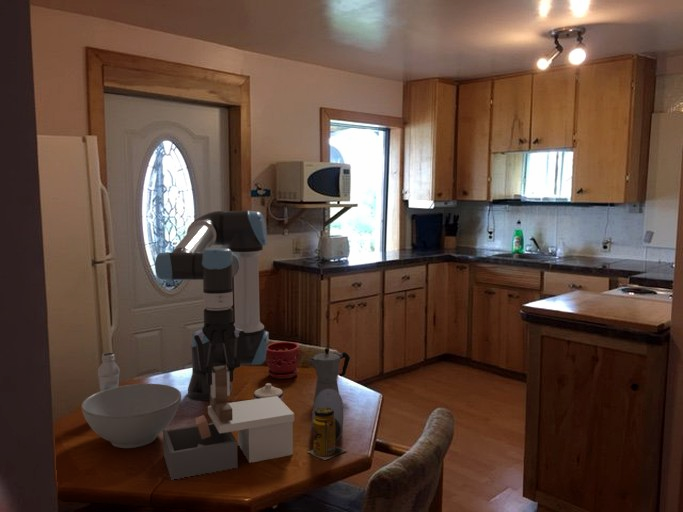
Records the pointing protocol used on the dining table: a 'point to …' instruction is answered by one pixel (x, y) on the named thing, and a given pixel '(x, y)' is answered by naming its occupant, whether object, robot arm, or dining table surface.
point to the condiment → (324, 434)
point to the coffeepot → (328, 370)
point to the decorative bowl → (131, 413)
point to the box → (198, 451)
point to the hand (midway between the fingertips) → (220, 394)
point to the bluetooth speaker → (334, 402)
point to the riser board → (260, 427)
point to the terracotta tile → (202, 427)
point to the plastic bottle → (108, 372)
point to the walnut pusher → (221, 395)
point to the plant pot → (282, 359)
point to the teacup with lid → (268, 392)
